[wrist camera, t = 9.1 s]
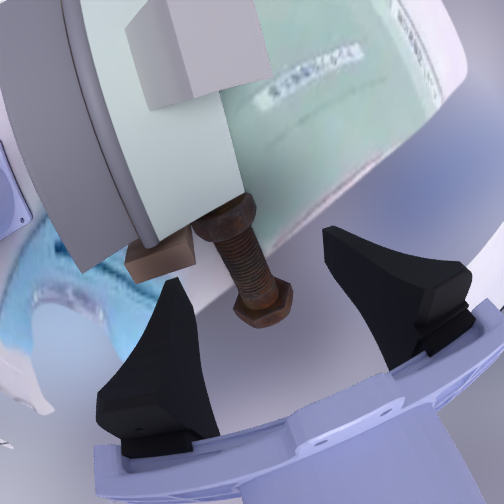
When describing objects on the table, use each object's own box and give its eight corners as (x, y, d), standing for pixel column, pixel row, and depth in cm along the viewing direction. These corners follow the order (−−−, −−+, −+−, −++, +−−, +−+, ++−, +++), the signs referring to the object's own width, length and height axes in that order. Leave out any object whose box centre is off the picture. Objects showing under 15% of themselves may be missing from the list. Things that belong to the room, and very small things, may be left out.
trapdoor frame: (133, 234, 22) (122, 288, 16) (56, -4, 9) (16, -29, 3) (189, 214, 22) (196, 264, 16) (117, -33, 9) (97, -73, 3)
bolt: (204, 147, 21) (263, 280, 30) (153, 178, 19) (229, 312, 28) (252, 142, 17) (305, 299, 25) (190, 180, 15) (270, 338, 23)
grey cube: (148, 110, 12) (194, 98, 9) (124, 29, 9) (162, -15, 6) (212, 89, 14) (273, 77, 10) (191, 15, 11) (247, -18, 7)
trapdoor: (82, 267, 15) (89, 288, 13) (-6, 16, 5) (-12, -5, 3) (221, 185, 20) (246, 192, 18) (161, -35, 10) (181, -56, 7)
